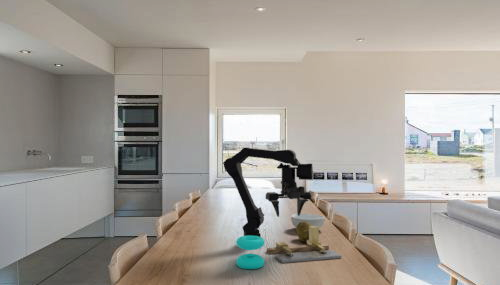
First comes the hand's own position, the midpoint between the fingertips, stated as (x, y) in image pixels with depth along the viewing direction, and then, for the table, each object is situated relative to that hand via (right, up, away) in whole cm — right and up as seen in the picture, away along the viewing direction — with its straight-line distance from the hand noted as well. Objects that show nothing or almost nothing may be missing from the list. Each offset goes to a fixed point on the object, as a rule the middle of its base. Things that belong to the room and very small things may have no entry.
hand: (288, 216), depth 161 cm
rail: (+4, -13, -9) cm, 16 cm away
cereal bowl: (+13, -14, +32) cm, 37 cm away
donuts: (-16, -13, -25) cm, 33 cm away
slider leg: (+11, -12, -7) cm, 18 cm away
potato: (+9, -13, +10) cm, 19 cm away
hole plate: (+6, -13, -15) cm, 21 cm away
